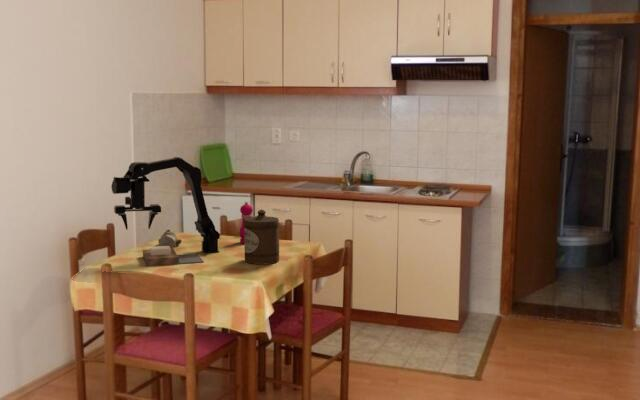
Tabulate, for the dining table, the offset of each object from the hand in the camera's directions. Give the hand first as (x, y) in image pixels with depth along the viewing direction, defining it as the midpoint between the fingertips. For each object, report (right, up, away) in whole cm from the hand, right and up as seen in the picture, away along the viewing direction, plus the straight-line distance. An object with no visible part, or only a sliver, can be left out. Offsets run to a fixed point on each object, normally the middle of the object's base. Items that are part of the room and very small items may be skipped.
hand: (137, 229), depth 310 cm
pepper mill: (+42, -8, +42) cm, 60 cm away
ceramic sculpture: (+7, -10, +30) cm, 32 cm away
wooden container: (+52, -14, +5) cm, 54 cm away
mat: (+20, -13, +6) cm, 25 cm away
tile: (+9, -10, +3) cm, 14 cm away
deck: (+9, -13, +3) cm, 16 cm away
